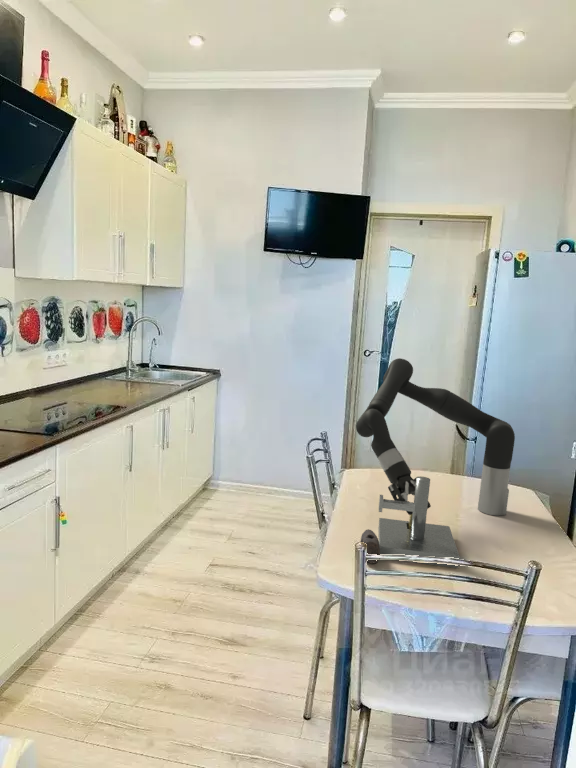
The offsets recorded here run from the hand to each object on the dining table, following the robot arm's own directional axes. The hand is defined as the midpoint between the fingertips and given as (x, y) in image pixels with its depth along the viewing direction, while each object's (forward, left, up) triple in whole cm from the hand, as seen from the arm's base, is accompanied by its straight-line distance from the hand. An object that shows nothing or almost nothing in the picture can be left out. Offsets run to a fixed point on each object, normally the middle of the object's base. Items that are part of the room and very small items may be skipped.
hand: (420, 510), depth 170 cm
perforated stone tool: (+15, +16, -9) cm, 24 cm away
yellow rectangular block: (+1, -1, -9) cm, 9 cm away
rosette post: (+1, +6, -9) cm, 11 cm away
